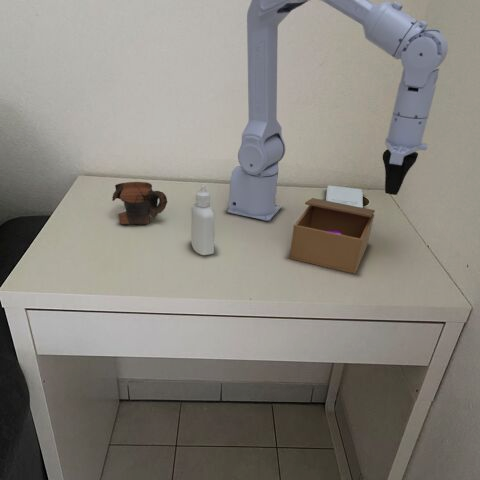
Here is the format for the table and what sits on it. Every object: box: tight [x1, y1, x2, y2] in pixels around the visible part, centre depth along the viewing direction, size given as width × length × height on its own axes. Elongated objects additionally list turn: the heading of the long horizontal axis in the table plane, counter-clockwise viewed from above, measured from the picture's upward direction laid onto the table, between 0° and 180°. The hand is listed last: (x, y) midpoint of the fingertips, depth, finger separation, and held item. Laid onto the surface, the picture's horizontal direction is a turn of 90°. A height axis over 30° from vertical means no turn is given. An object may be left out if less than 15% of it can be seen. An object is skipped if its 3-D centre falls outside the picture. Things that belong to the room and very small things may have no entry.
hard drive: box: [325, 185, 364, 208], centre depth 112 cm, size 2×8×12 cm
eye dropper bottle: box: [190, 184, 216, 256], centre depth 87 cm, size 4×6×12 cm
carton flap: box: [304, 197, 376, 217], centre depth 90 cm, size 6×12×1 cm, turn 68°
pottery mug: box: [111, 181, 168, 225], centre depth 99 cm, size 12×10×8 cm
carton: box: [289, 205, 375, 275], centre depth 90 cm, size 12×12×6 cm
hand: (391, 193), depth 90 cm, fingers closed
